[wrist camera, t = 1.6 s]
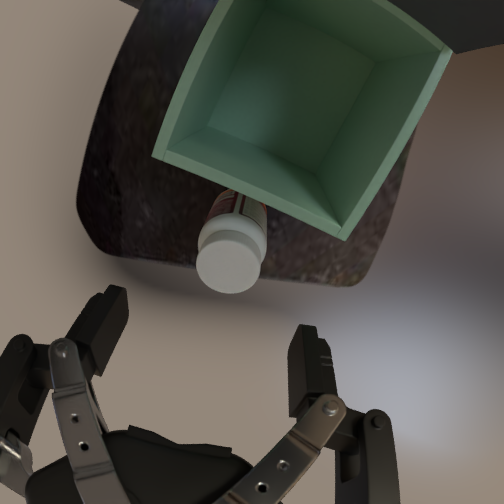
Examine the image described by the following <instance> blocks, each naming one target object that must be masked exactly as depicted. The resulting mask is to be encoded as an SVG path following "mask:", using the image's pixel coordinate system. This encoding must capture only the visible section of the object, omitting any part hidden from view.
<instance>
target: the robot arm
mask: <svg viewBox="0 0 504 504" xmlns="http://www.w3.org/2000/svg"><path fill="white" fill-rule="evenodd" d="M128 316H129V309H128V300H127V291H126V288H123V287H119V286H115V285H109V286H108V288H107V289H106V291H105V292H104V294H103V293H97V294H96V295H94V296H93V297H91V298H90V299H89V301H88V302H87V304H86V305H85V308H83V310H82V311H81V314H80V315H79V316H78V317H77V319H76V320H75V322H74V324H73V325H72V327H71V328H70V330H69V331H68V333H67V335H66V336H65V338H59V339H57V340H55V341H53V342H52V343H51V344H50V345H45V344H34V343H33V341H32V339H31V338H30V337H29V336H28V335H25V334H19V335H16V336H14V337H13V338H12V339H11V340H10V342H9V343H8V345H7V346H6V348H5V350H4V351H3V353H2V355H1V356H0V482H1V483H2V484H4V485H5V486H7V487H8V488H10V489H11V490H13V491H15V492H16V493H18V494H19V495H22V496H23V497H25V498H26V503H27V504H283V503H282V502H281V500H282V499H283V498H284V497H285V495H286V494H287V493H288V492H289V491H290V490H291V489H292V488H293V487H294V485H295V484H296V483H297V482H298V481H299V480H300V478H301V477H302V476H303V475H304V474H305V472H306V471H307V470H308V469H309V468H310V466H311V465H312V464H313V463H314V461H315V460H316V459H317V457H318V456H319V454H320V451H321V449H322V448H323V447H326V448H329V449H332V450H335V504H400V491H399V479H398V470H397V461H396V452H395V445H394V438H393V431H392V425H391V420H390V418H389V416H388V415H387V414H386V413H385V412H383V411H381V410H378V409H373V410H370V411H368V412H367V413H366V414H365V413H361V412H359V411H356V410H352V409H350V408H348V407H346V405H345V403H344V402H343V400H342V399H341V398H339V397H338V394H337V387H336V381H335V374H334V368H333V362H332V359H331V358H332V356H331V350H330V347H329V345H328V344H327V342H326V340H325V339H322V338H318V334H317V329H316V327H315V326H310V325H303V324H299V326H298V328H297V330H296V332H295V334H294V337H293V339H292V341H291V343H290V346H289V349H288V357H287V359H288V391H289V392H288V393H289V417H294V418H297V423H296V424H295V425H294V426H293V427H292V429H291V430H290V431H289V432H288V433H287V434H286V435H285V436H284V437H283V438H282V439H281V440H280V441H279V442H278V443H277V444H276V445H275V447H274V448H273V449H272V450H271V451H270V452H269V453H268V454H267V455H266V456H265V457H264V458H263V459H262V460H261V461H260V462H259V463H258V464H257V465H256V466H255V467H253V466H252V465H251V464H250V463H249V462H247V461H246V460H244V459H243V458H241V457H239V456H237V455H235V454H232V453H231V451H232V448H230V447H222V446H217V445H211V444H177V443H174V442H172V441H170V440H168V439H166V438H164V437H162V436H160V435H158V434H156V433H155V432H152V431H149V430H145V429H142V428H138V427H135V426H131V425H129V427H128V430H116V431H111V432H109V429H108V427H107V425H106V423H105V421H104V418H103V416H102V413H101V410H100V407H99V404H98V402H97V399H96V395H95V392H94V389H93V385H92V382H91V379H92V377H93V375H94V374H95V375H97V376H100V377H101V376H102V374H103V372H104V370H105V368H106V365H107V363H108V361H109V359H110V356H111V355H112V353H113V350H114V348H115V346H116V344H117V342H118V340H119V338H120V336H121V334H122V332H123V330H124V328H125V326H126V324H127V321H128ZM50 389H54V393H52V400H53V405H54V409H55V413H56V418H57V421H58V425H59V429H60V433H61V436H62V440H63V443H64V446H65V449H66V453H67V455H66V456H64V457H62V458H61V459H59V460H57V461H55V462H53V463H51V464H49V465H47V466H45V467H44V468H42V469H40V470H37V471H36V472H34V473H33V470H32V463H33V462H32V453H31V451H30V449H29V447H28V445H29V442H30V439H31V436H32V433H33V430H34V428H35V425H36V422H37V419H38V417H39V414H40V412H41V409H42V407H43V404H44V402H45V399H46V397H47V395H48V392H49V390H50Z"/></svg>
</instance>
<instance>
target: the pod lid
mask: <svg viewBox="0 0 504 504" xmlns="http://www.w3.org/2000/svg"><path fill="white" fill-rule="evenodd" d="M387 1H389V2H390V3H392V4H393V5H395V6H396V7H398V8H399V9H401V10H402V11H404V12H405V13H407V14H408V15H409V16H411V17H412V18H413V19H415V20H416V21H417V22H419V23H420V24H421V25H423V26H424V27H425V28H426V29H428V30H429V31H430V32H431V33H433V34H434V35H435V36H436V37H437V38H439V39H440V40H441V41H442V42H443V43H444V44H445V45H447V46H448V47H449V48H450V49H451V50H452V51H453V52H454V53H456V54H459V53H463V52H467V51H471V50H476V49H480V48H485V47H490V46H495V45H500V44H504V0H387Z"/></svg>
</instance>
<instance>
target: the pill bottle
mask: <svg viewBox="0 0 504 504" xmlns="http://www.w3.org/2000/svg"><path fill="white" fill-rule="evenodd" d="M266 248H267V211H266V207H265V204H264V203H262V202H260V201H257V200H255V199H253V198H251V197H248V196H246V195H244V194H241V193H239V192H237V191H235V190H232V189H228V190H226V191H224V192H223V193H221V194H220V195H219V196H218V197H217V198H216V200H215V202H214V203H213V205H212V208H211V210H210V212H209V214H208V217H207V219H206V221H205V223H204V226H203V228H202V230H201V232H200V235H199V239H198V250H199V254H198V256H197V260H196V268H197V272H198V275H199V277H200V278H201V280H202V281H203V282H204V283H205V284H206V285H207V286H209V287H210V288H212V289H214V290H216V291H218V292H222V293H229V294H230V293H239V292H243V291H245V290H247V289H249V288H250V287H251V286H252V285H253V284H254V283H255V282H256V281H257V279H258V277H259V274H260V266H261V263H262V261H263V259H264V257H265V254H266Z"/></svg>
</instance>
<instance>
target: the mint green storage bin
mask: <svg viewBox="0 0 504 504" xmlns="http://www.w3.org/2000/svg"><path fill="white" fill-rule="evenodd" d="M452 52H453V51H452V50H451V49H450V48H449V47H448V46H447V45H445V44H444V43H443V42H442V41H441V40H440V39H439V38H437V37H436V36H435V35H434V34H433V33H431V32H430V31H429V30H428V29H426V28H425V27H424V26H423V25H421V24H420V23H419V22H417V21H416V20H415V19H413V18H412V17H411V16H409V15H408V14H407V13H405V12H404V11H402V10H401V9H399V8H398V7H396V6H395V5H393V4H392V3H390V2H389V1H387V0H219V2H218V3H217V5H216V7H215V9H214V10H213V12H212V14H211V16H210V18H209V20H208V21H207V23H206V25H205V27H204V29H203V31H202V33H201V35H200V37H199V39H198V41H197V43H196V45H195V47H194V49H193V51H192V54H191V56H190V58H189V60H188V62H187V64H186V67H185V69H184V71H183V73H182V76H181V78H180V80H179V83H178V85H177V87H176V90H175V92H174V95H173V97H172V100H171V102H170V105H169V108H168V110H167V113H166V115H165V118H164V121H163V124H162V126H161V129H160V132H159V135H158V138H157V141H156V144H155V147H154V150H153V153H152V156H151V157H154V158H156V159H159V160H161V161H164V162H166V163H169V164H172V165H174V166H177V167H179V168H182V169H184V170H187V171H189V172H192V173H194V174H196V175H199V176H201V177H204V178H206V179H209V180H211V181H213V182H216V183H218V184H220V185H223V186H225V187H228V188H230V189H232V190H235V191H237V192H239V193H241V194H244V195H246V196H248V197H251V198H253V199H255V200H257V201H260V202H262V203H264V204H266V205H269V206H271V207H273V208H275V209H277V210H280V211H282V212H284V213H286V214H288V215H290V216H293V217H295V218H297V219H299V220H301V221H303V222H305V223H307V224H310V225H312V226H314V227H316V228H318V229H320V230H322V231H324V232H326V233H328V234H330V235H332V236H334V237H337V238H339V239H341V240H343V241H346V239H347V238H348V236H349V235H350V233H351V232H352V230H353V229H354V227H355V226H356V224H357V223H358V221H359V220H360V218H361V217H362V215H363V214H364V212H365V211H366V209H367V207H368V206H369V204H370V203H371V201H372V200H373V198H374V196H375V195H376V193H377V192H378V190H379V188H380V187H381V185H382V183H383V182H384V180H385V179H386V177H387V175H388V174H389V172H390V170H391V169H392V167H393V165H394V163H395V162H396V160H397V158H398V157H399V155H400V153H401V151H402V150H403V148H404V146H405V144H406V143H407V141H408V139H409V137H410V136H411V134H412V132H413V130H414V128H415V127H416V125H417V123H418V121H419V119H420V117H421V115H422V114H423V112H424V110H425V108H426V106H427V104H428V102H429V100H430V98H431V96H432V94H433V92H434V90H435V88H436V86H437V84H438V82H439V80H440V78H441V76H442V74H443V72H444V70H445V67H446V65H447V63H448V61H449V59H450V56H451V54H452Z"/></svg>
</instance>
